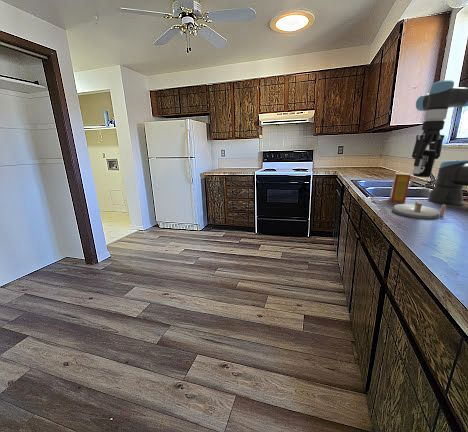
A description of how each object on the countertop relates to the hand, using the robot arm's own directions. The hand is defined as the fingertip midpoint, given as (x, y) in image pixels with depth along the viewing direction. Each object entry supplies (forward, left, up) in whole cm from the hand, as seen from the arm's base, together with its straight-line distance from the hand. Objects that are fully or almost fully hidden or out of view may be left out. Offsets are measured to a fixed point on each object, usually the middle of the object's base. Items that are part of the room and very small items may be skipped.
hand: (422, 173), depth 114 cm
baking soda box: (-12, -20, -19) cm, 30 cm away
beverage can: (0, 0, -2) cm, 2 cm away
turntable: (+3, +3, -17) cm, 18 cm away
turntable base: (+3, +3, -19) cm, 19 cm away
